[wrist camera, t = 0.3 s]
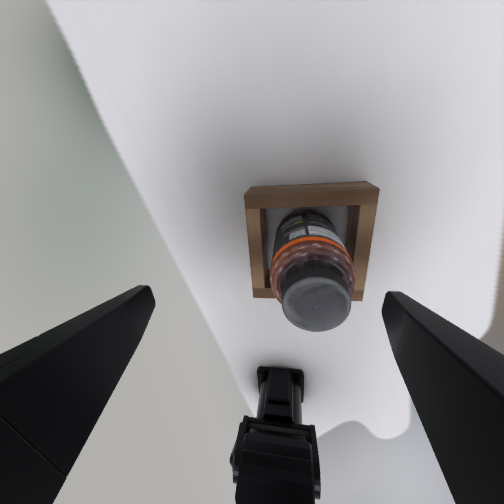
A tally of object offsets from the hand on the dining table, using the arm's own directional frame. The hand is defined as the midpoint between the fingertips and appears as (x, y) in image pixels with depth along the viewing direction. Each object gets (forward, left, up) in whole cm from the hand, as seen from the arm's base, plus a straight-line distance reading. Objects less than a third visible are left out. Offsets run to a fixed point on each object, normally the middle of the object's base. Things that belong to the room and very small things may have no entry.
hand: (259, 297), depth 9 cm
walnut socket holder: (-4, -3, -15) cm, 16 cm away
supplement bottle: (-4, -3, -16) cm, 16 cm away
